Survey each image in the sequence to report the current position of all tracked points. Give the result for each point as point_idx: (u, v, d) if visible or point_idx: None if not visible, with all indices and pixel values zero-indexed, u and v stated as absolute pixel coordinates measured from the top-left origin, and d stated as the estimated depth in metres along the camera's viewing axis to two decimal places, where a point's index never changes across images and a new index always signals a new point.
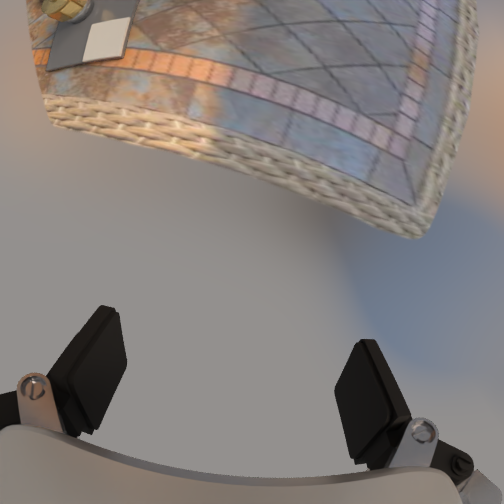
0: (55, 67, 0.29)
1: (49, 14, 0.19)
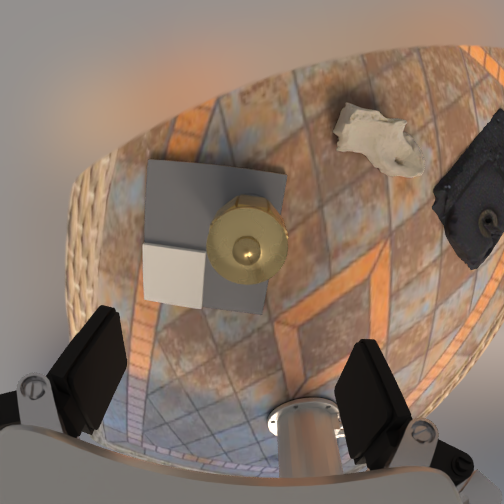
0: (148, 182, 0.27)
1: (209, 231, 0.21)
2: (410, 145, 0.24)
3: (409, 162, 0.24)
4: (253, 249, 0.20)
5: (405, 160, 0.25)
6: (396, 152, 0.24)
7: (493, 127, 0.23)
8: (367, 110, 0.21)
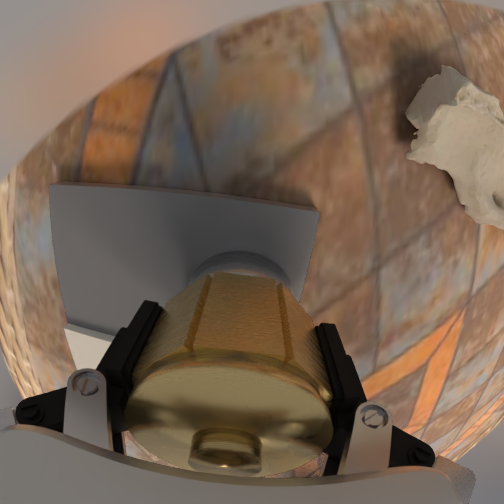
0: (53, 226, 0.13)
1: None
2: None
3: None
4: (242, 465, 0.06)
5: None
6: (497, 183, 0.10)
7: None
8: (482, 91, 0.07)
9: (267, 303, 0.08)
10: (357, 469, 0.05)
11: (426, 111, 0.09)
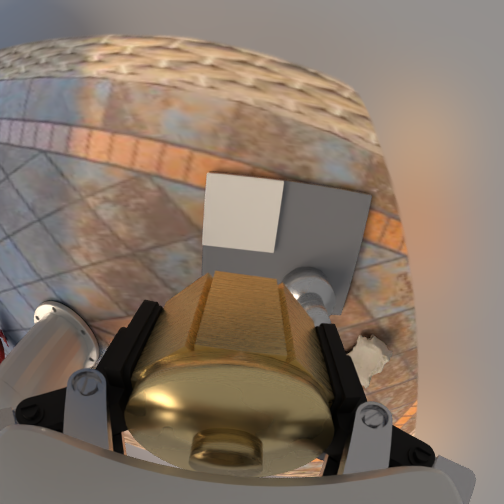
0: (349, 193, 0.26)
1: None
2: None
3: None
4: (243, 465, 0.06)
5: None
6: None
7: None
8: (383, 365, 0.31)
9: (268, 303, 0.08)
10: (357, 469, 0.05)
11: (377, 343, 0.31)
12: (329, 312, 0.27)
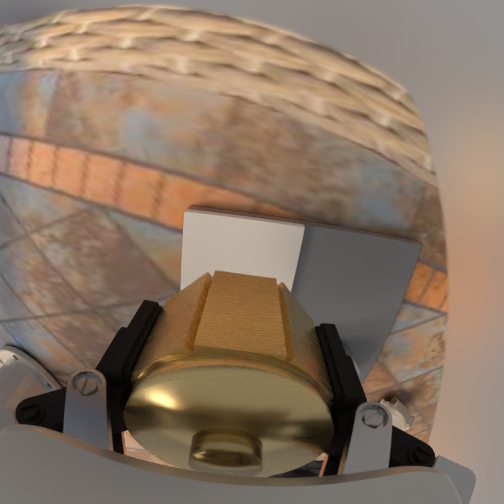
0: (395, 242, 0.17)
1: None
2: None
3: None
4: (243, 465, 0.06)
5: None
6: None
7: None
8: None
9: (268, 303, 0.08)
10: (357, 469, 0.05)
11: (400, 409, 0.23)
12: None
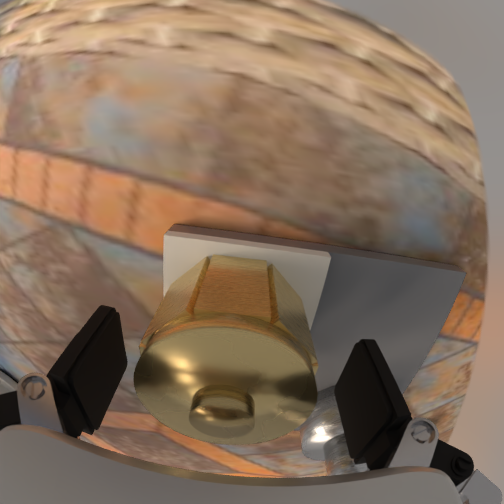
0: (438, 271, 0.12)
1: None
2: None
3: None
4: (237, 419, 0.07)
5: None
6: None
7: None
8: None
9: (258, 278, 0.10)
10: None
11: None
12: None
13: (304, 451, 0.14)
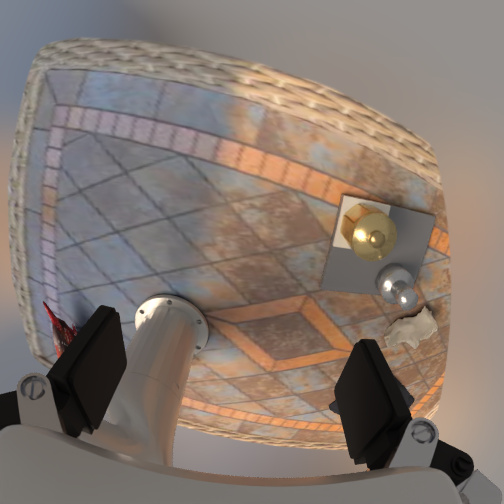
0: (424, 215, 0.35)
1: (353, 227, 0.31)
2: (399, 342, 0.43)
3: (394, 338, 0.43)
4: (382, 238, 0.30)
5: (395, 336, 0.43)
6: (402, 333, 0.43)
7: (407, 396, 0.52)
8: (431, 334, 0.40)
9: (376, 208, 0.33)
10: None
11: (432, 316, 0.41)
12: None
13: (383, 293, 0.37)
